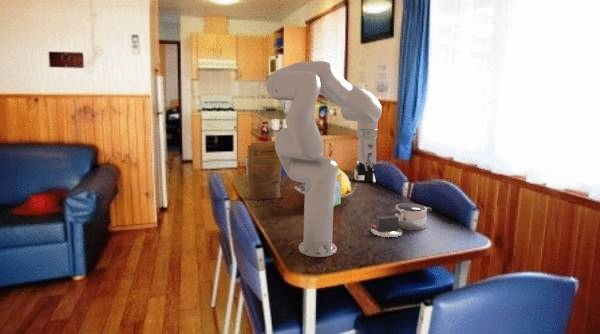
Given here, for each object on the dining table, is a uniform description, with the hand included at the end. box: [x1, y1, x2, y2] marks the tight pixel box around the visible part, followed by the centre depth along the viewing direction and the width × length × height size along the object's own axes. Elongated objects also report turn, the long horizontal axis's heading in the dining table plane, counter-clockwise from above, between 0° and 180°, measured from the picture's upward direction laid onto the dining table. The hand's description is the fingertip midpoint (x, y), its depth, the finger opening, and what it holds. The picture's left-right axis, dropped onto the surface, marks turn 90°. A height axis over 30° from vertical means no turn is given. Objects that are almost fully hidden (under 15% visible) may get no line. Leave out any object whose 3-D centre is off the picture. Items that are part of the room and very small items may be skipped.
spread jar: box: [354, 160, 377, 183], centre depth 237 cm, size 12×11×12 cm
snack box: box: [304, 171, 342, 207], centre depth 182 cm, size 21×6×15 cm, turn 141°
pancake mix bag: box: [246, 140, 283, 201], centre depth 194 cm, size 7×19×28 cm, turn 112°
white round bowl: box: [370, 214, 403, 239], centre depth 153 cm, size 12×12×6 cm
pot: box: [389, 202, 433, 231], centre depth 162 cm, size 12×17×8 cm
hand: (365, 178), depth 156 cm, fingers open, 9 cm apart
